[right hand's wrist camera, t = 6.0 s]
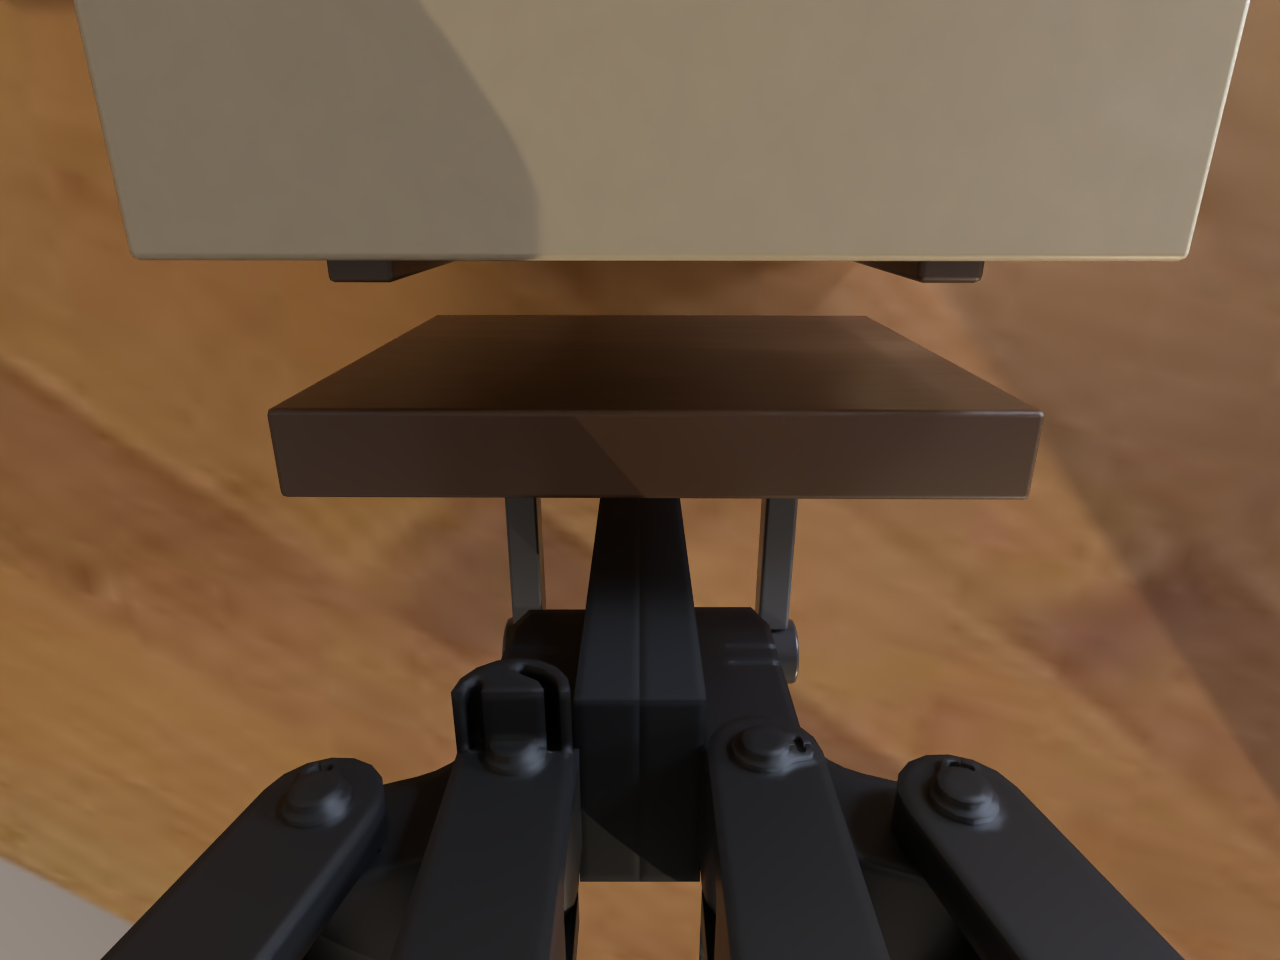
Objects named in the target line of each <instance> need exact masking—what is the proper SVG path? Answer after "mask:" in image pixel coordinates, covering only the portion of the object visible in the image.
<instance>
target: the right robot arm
mask: <svg viewBox="0 0 1280 960" xmlns="http://www.w3.org/2000/svg"><path fill="white" fill-rule="evenodd" d="M451 697H452V706H453V716H454V726H455V735H456V745H457V755H456V758H455V761H453V762H452V763H450V764H448V765H446V766H444V767H442V768H440V769H438V770H436V771H433V772H430V773H427V774H424V775H421V776H418V777H414V778H409V779H405V780H401V781H397V782H393V783H388V784H384V785H383V781H382V777H381V776H380V774H379V773H378V772H377V771H376V770H375V768H374V767H373V766H372V765H370V764H368V763H365V762H362V761H360V760H357V759H355V758H329V759H324V760H320V761H315V762H311V763H307V764H305V765H303V766H301V767H298V768H296V769H294V770H292V771H290V772H288V773H286V774H284V775H282V776H281V777H280V778H279V779H277V780H276V781H275V782H273V783H272V784H271V785H270V786H268V787H267V788H266V789H265V790H264V791H263V792H262V793H261V794H260V795H259V796H258V797H257V798H256V799H255V800H254V801H253V802H252V803H251V804H250V805H249V806H248V807H247V808H246V809H245V810H244V811H243V812H242V813H241V814H240V815H239V817H238V818H237V819H236V820H235V821H234V822H233V823H232V824H231V825H230V826H229V827H228V828H227V829H226V830H225V831H224V832H223V833H222V834H221V835H220V836H219V837H218V838H217V839H216V840H215V841H214V842H213V843H212V845H211V846H210V847H209V848H208V849H207V850H206V851H205V852H204V853H203V854H202V855H201V856H200V857H199V858H198V859H197V860H196V861H195V862H194V863H193V864H192V865H191V866H190V867H189V868H188V869H187V870H186V871H185V873H184V874H183V875H182V876H181V877H180V878H179V879H178V880H177V881H176V882H175V883H174V884H173V885H172V886H171V887H170V888H169V889H168V890H167V891H166V892H165V893H164V894H163V895H162V896H161V897H160V898H159V899H158V901H157V902H156V903H155V904H154V905H153V906H152V907H151V908H150V909H149V910H148V911H147V912H146V913H145V914H144V915H143V916H142V917H141V918H140V919H139V920H138V921H137V922H136V923H135V924H134V925H133V926H132V927H131V929H130V930H129V931H128V932H127V933H126V934H125V935H124V936H123V937H122V938H121V939H120V940H119V941H118V942H117V943H116V944H115V945H114V946H113V947H112V948H111V949H110V950H109V951H108V952H107V953H106V954H105V956H104V957H103V958H102V959H101V960H576V956H577V943H578V931H579V902H578V885H579V874H580V882H700V870H701V881H702V902H701V928H700V954H699V960H1184V959H1183V958H1182V957H1181V956H1180V955H1179V953H1178V952H1177V951H1176V950H1175V949H1174V948H1173V947H1172V946H1171V945H1170V944H1169V943H1168V942H1167V941H1166V940H1165V939H1164V938H1163V937H1162V936H1161V935H1160V934H1159V933H1158V932H1157V931H1156V930H1155V929H1154V928H1153V927H1152V926H1151V925H1150V924H1149V923H1148V922H1147V921H1146V919H1145V918H1144V917H1143V916H1142V915H1141V914H1140V913H1139V912H1138V911H1137V910H1136V909H1135V908H1134V907H1133V906H1132V905H1131V904H1130V903H1129V902H1128V901H1127V900H1126V899H1125V898H1124V897H1123V896H1122V895H1121V894H1120V893H1119V892H1118V891H1117V890H1116V889H1115V888H1114V887H1113V885H1112V884H1111V883H1110V882H1109V881H1108V880H1107V879H1106V878H1105V877H1104V876H1103V875H1102V874H1101V873H1100V872H1099V871H1098V870H1097V869H1096V868H1095V867H1094V866H1093V865H1092V864H1091V863H1090V862H1089V861H1088V860H1087V859H1086V858H1085V857H1084V856H1083V855H1082V854H1081V853H1080V851H1079V850H1078V849H1077V848H1076V847H1075V846H1074V845H1073V844H1072V843H1071V842H1070V841H1069V840H1068V839H1067V838H1066V837H1065V836H1064V835H1063V834H1062V833H1061V832H1060V831H1059V830H1058V829H1057V828H1056V827H1055V826H1054V825H1053V824H1052V823H1051V822H1050V821H1049V820H1048V819H1047V817H1046V816H1045V815H1044V814H1043V813H1042V812H1041V811H1040V810H1039V809H1038V808H1037V807H1036V806H1035V805H1034V804H1033V803H1032V802H1031V801H1030V800H1029V799H1028V798H1027V797H1026V796H1025V795H1024V794H1023V793H1022V792H1021V791H1020V790H1019V789H1018V788H1017V787H1016V786H1015V785H1014V784H1013V783H1011V782H1010V781H1009V780H1007V779H1006V778H1005V777H1004V776H1002V775H1001V774H1000V773H999V772H997V771H995V770H993V769H991V768H989V767H987V766H985V765H983V764H980V763H978V762H976V761H974V760H971V759H966V758H962V757H957V756H953V755H926V756H923V757H920V758H918V759H915V760H912V761H910V762H908V763H907V765H906V766H905V767H904V768H903V769H902V771H901V772H900V773H899V774H898V781H897V782H896V781H892V780H888V779H883V778H879V777H875V776H871V775H866V774H862V773H859V772H856V771H853V770H850V769H847V768H844V767H842V766H840V765H838V764H836V763H834V762H832V761H830V760H828V759H827V758H825V757H824V754H823V752H822V750H821V748H820V747H819V745H818V743H817V742H816V740H815V739H814V737H813V736H811V735H810V734H809V733H807V732H806V731H805V730H804V729H802V728H801V727H800V725H799V722H798V718H797V715H796V712H795V708H794V705H793V702H792V699H791V695H790V692H789V689H788V685H787V682H786V679H785V675H784V672H783V669H782V665H780V659H779V656H778V652H777V649H775V642H774V639H773V636H772V632H771V629H770V626H769V624H768V623H767V622H766V621H765V620H764V619H763V618H762V617H761V616H760V615H758V614H757V613H756V612H755V611H754V610H753V609H752V608H751V607H694V602H693V594H692V587H691V579H690V572H689V564H688V557H687V549H686V541H685V534H684V526H683V519H682V511H681V504H680V498H600V504H599V511H598V519H597V526H596V534H595V541H594V549H593V556H592V564H591V572H590V579H589V587H588V594H587V602H586V609H585V610H528V611H527V612H526V613H525V614H524V615H523V616H522V617H521V618H520V619H519V620H518V621H517V622H516V623H515V624H514V625H513V626H511V629H510V632H509V635H508V639H507V642H506V645H505V651H504V652H503V655H502V659H501V660H498V661H495V662H492V663H489V664H486V665H483V666H480V667H477V668H476V669H474V670H473V671H471V672H470V673H468V674H467V675H465V676H464V677H462V678H461V679H460V680H459V682H458V683H457V684H456V686H455V687H454V689H453V690H452V692H451Z"/></svg>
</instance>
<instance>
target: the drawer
mask: <svg viewBox="0 0 1280 960" xmlns="http://www.w3.org/2000/svg"><path fill="white" fill-rule="evenodd" d="M453 261H456V260H327V265H328V272H329V278H330V280H331V281H334V282H392V281H395V280H398V279H401V278H404V277H407V276H410V275H414V274H417V273H420V272H423V271H426V270H429V269H432V268H435V267H438V266H441V265H444V264H447V263H450V262H453ZM854 262H857V263H860V264H863V265H867V266H870V267H873V268H876V269H880V270H883V271H886V272H889V273H893V274H896V275H899V276H902V277H905V278H909V279H912V280H915V281H918V282H922V283H974V282H977V281H979V280H980V279H981V277H982V273H983V267H984V261H854ZM1043 420H1044V415H1043V412H1042V411H1040V410H1038V409H1036V408H1035V407H1033V406H1031V405H1029V404H1027V403H1025V402H1024V401H1022V400H1020V399H1018V398H1016V397H1014V396H1012V395H1011V394H1009V393H1007V392H1005V391H1003V390H1001V389H1000V388H998V387H996V386H994V385H992V384H990V383H989V382H987V381H985V380H983V379H981V378H979V377H977V376H976V375H974V374H972V373H970V372H968V371H966V370H965V369H963V368H961V367H959V366H957V365H955V364H953V363H952V362H950V361H948V360H946V359H944V358H942V357H941V356H939V355H937V354H935V353H933V352H931V351H929V350H928V349H926V348H924V347H922V346H920V345H918V344H917V343H915V342H913V341H911V340H909V339H907V338H906V337H904V336H902V335H900V334H898V333H896V332H894V331H893V330H891V329H889V328H887V327H885V326H883V325H882V324H880V323H878V322H876V321H874V320H872V319H870V318H869V317H866V316H588V315H437V316H435V317H433V318H431V319H430V320H428V321H426V322H424V323H423V324H421V325H419V326H417V327H415V328H414V329H412V330H410V331H408V332H406V333H405V334H403V335H401V336H399V337H398V338H396V339H394V340H392V341H390V342H389V343H387V344H385V345H383V346H381V347H380V348H378V349H376V350H374V351H373V352H371V353H369V354H367V355H365V356H364V357H362V358H360V359H358V360H356V361H355V362H353V363H351V364H349V365H348V366H346V367H344V368H342V369H340V370H339V371H337V372H335V373H333V374H331V375H330V376H328V377H326V378H324V379H323V380H321V381H319V382H317V383H315V384H314V385H312V386H310V387H308V388H307V389H305V390H303V391H301V392H299V393H298V394H296V395H294V396H292V397H290V398H289V399H287V400H285V401H283V402H282V403H280V404H278V405H276V406H274V407H273V408H271V409H269V411H268V421H269V427H270V432H271V438H272V444H273V449H274V455H275V460H276V466H277V472H278V477H279V483H280V489H281V493H282V495H283V496H286V497H505V507H506V522H507V537H508V552H509V567H510V582H511V597H512V612H513V618H509V619H508V621H507V623H506V626H505V631H504V637H503V649H502V655H503V652H504V651H505V645H506V642H507V639H508V635H509V632H510V629H511V626H513V625H514V624H515V623H516V622H517V621H518V620H519V619H520V618H521V617H522V616H523V615H524V614H525V613H526V612H527V611H528V610H546V598H545V577H544V557H543V537H542V516H541V498H762V504H761V521H760V537H759V553H758V570H757V586H756V602H755V612H756V613H757V614H758V615H760V616H761V617H762V618H763V619H764V620H765V621H766V622H767V623H768V624H769V626H770V629H771V632H772V636H773V639H774V642H775V649H777V652H778V656H779V659H780V665H782V669H783V672H784V675H785V679H786V682H787V684H792V683H794V682H795V681H796V678H797V675H798V667H799V646H798V637H797V631H796V627H795V624H794V622H793V621H792V620H791V619H788V617H789V604H790V592H791V579H792V567H793V554H794V541H795V529H796V516H797V504H798V499H1026V498H1027V497H1028V496H1029V492H1030V487H1031V482H1032V476H1033V471H1034V466H1035V461H1036V456H1037V451H1038V445H1039V440H1040V435H1041V430H1042V425H1043Z"/></svg>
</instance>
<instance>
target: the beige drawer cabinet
mask: <svg viewBox="0 0 1280 960" xmlns="http://www.w3.org/2000/svg"><path fill="white" fill-rule="evenodd" d="M73 2H74V6H75V11H76V15H77V19H78V24H79V28H80V33H81V37H82V42H83V46H84V50H85V55H86V59H87V64H88V68H89V73H90V77H91V81H92V86H93V90H94V95H95V99H96V103H97V108H98V112H99V117H100V121H101V126H102V130H103V134H104V139H105V143H106V148H107V152H108V157H109V161H110V165H111V170H112V174H113V179H114V183H115V188H116V192H117V196H118V201H119V205H120V210H121V214H122V218H123V223H124V227H125V232H126V236H127V241H128V245H129V249H130V253H131V254H132V256H133V257H134V258H137V259H140V260H486V261H1179V260H1182V259H1184V258H1186V256H1187V255H1188V253H1189V249H1190V245H1191V241H1192V237H1193V233H1194V229H1195V224H1196V220H1197V216H1198V212H1199V208H1200V204H1201V200H1202V196H1203V192H1204V188H1205V183H1206V179H1207V175H1208V171H1209V167H1210V163H1211V159H1212V155H1213V151H1214V147H1215V143H1216V138H1217V134H1218V130H1219V126H1220V122H1221V118H1222V114H1223V110H1224V106H1225V102H1226V98H1227V93H1228V89H1229V85H1230V81H1231V77H1232V73H1233V69H1234V65H1235V61H1236V57H1237V52H1238V48H1239V44H1240V40H1241V36H1242V32H1243V28H1244V24H1245V20H1246V16H1247V12H1248V7H1249V3H1250V0H73Z"/></svg>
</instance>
